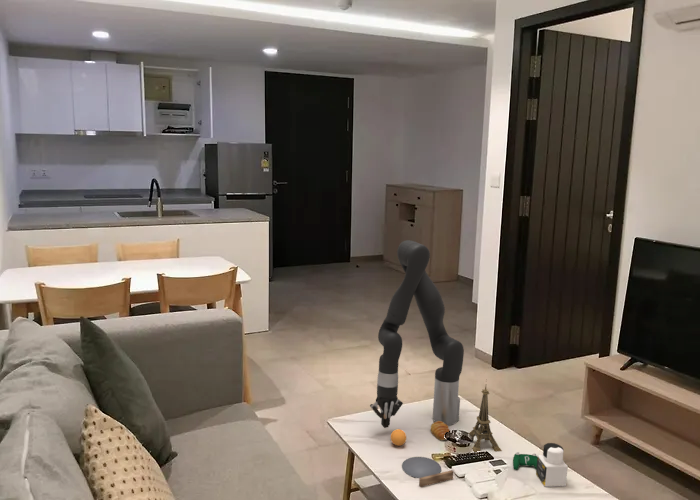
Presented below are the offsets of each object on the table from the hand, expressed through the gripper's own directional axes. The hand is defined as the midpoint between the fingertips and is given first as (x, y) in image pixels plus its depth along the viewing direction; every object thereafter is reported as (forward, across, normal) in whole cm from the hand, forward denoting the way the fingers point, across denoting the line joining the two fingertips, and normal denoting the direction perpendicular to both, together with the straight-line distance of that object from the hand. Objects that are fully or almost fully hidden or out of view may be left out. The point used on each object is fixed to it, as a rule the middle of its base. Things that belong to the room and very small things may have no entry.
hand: (385, 426), depth 218 cm
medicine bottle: (+2, -35, +48) cm, 59 cm away
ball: (0, 0, +9) cm, 9 cm away
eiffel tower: (+2, -28, +20) cm, 35 cm away
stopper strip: (+2, 0, +34) cm, 34 cm away
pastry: (+3, -19, +8) cm, 21 cm away
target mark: (+2, 0, +25) cm, 25 cm away
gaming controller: (+2, -33, +38) cm, 51 cm away
